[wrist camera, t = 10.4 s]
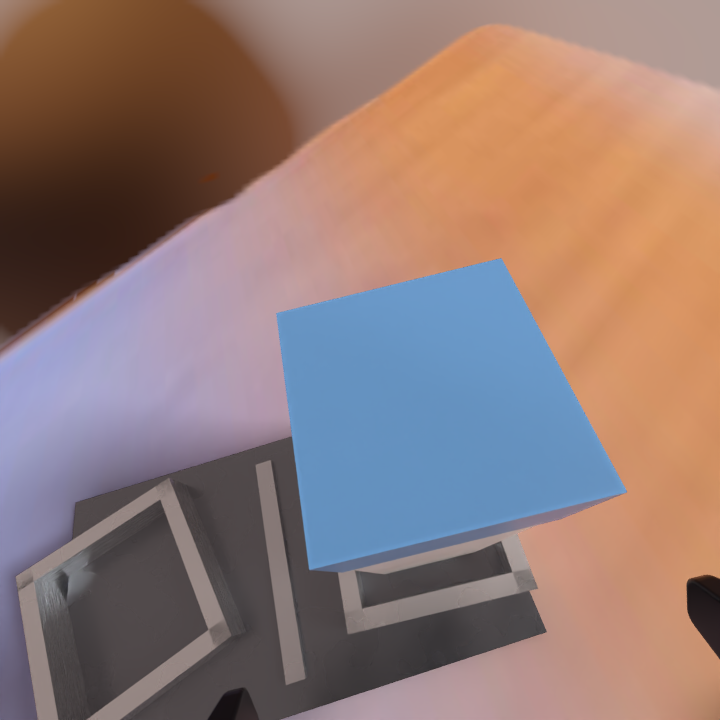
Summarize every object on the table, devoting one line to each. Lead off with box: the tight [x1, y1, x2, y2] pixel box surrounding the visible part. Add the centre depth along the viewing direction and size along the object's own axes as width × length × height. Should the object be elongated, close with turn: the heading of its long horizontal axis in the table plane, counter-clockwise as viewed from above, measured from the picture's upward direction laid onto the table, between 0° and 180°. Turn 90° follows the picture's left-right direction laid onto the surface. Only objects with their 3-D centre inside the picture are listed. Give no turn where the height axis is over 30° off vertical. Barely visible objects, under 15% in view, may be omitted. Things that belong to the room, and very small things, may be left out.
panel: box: [67, 437, 547, 720], centre depth 18 cm, size 20×11×1 cm, turn 106°
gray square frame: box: [16, 478, 246, 720], centre depth 17 cm, size 7×7×2 cm
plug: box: [276, 258, 627, 574], centre depth 12 cm, size 5×4×14 cm
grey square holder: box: [338, 534, 538, 634], centre depth 18 cm, size 7×7×2 cm
